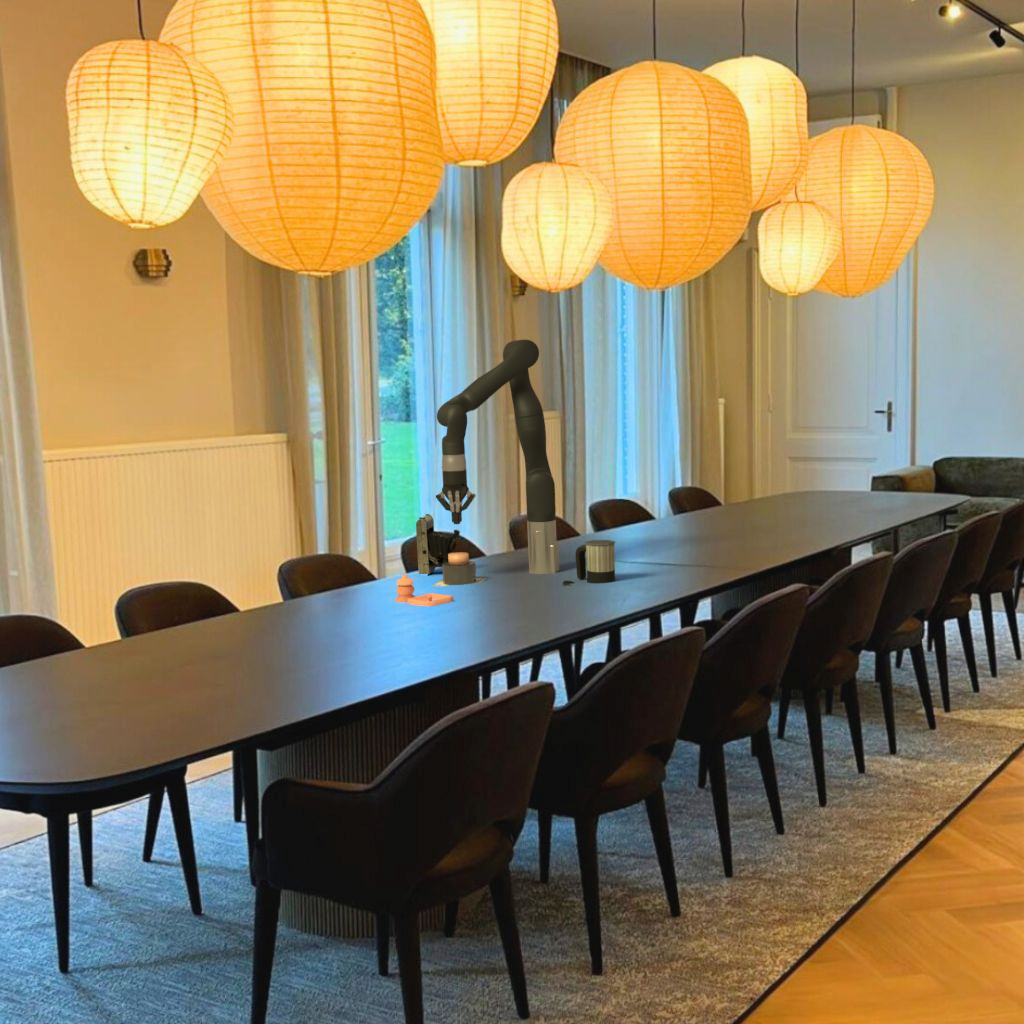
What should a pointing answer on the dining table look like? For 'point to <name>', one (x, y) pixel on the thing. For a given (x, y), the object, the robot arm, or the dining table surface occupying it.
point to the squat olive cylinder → (459, 573)
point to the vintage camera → (432, 545)
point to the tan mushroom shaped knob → (458, 558)
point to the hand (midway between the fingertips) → (456, 523)
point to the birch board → (449, 585)
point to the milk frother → (595, 562)
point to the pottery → (406, 595)
